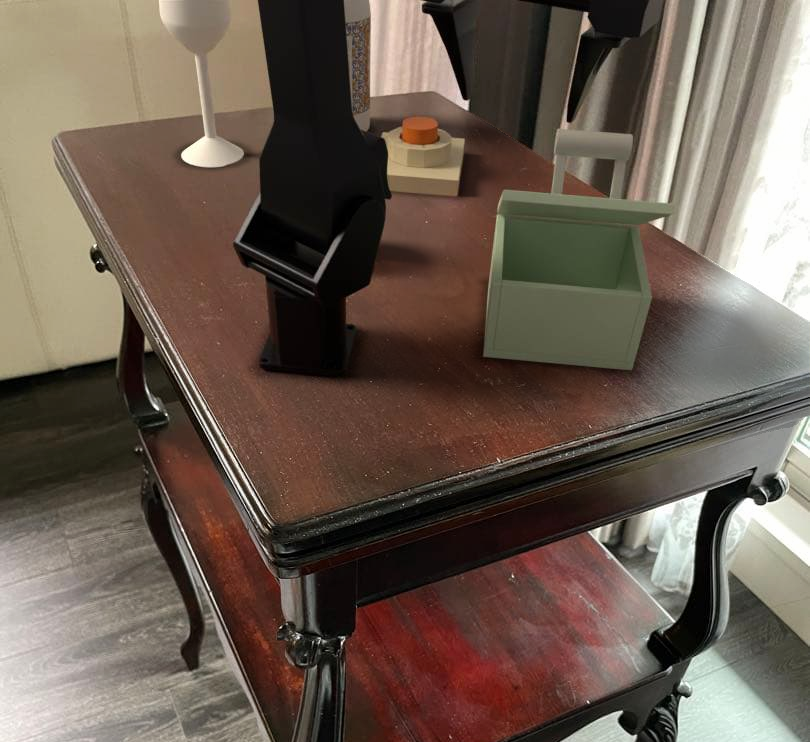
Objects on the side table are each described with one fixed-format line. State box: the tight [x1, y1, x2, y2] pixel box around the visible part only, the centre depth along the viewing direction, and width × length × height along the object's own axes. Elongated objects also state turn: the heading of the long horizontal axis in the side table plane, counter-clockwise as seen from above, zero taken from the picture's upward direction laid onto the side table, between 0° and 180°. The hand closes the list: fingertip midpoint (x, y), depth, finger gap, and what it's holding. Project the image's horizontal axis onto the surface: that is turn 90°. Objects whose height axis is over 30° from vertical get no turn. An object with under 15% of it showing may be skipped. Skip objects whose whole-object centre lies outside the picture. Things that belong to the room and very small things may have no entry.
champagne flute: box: [158, 0, 245, 168], centre depth 81 cm, size 7×7×24 cm
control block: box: [380, 126, 466, 197], centre depth 87 cm, size 11×9×4 cm
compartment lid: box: [496, 128, 676, 226], centre depth 61 cm, size 12×11×5 cm
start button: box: [401, 116, 439, 145], centre depth 86 cm, size 4×4×2 cm
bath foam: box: [344, 0, 372, 132], centre depth 89 cm, size 7×7×20 cm
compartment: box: [482, 213, 653, 371], centre depth 66 cm, size 11×11×6 cm
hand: (517, 110), depth 69 cm, fingers open, 9 cm apart
